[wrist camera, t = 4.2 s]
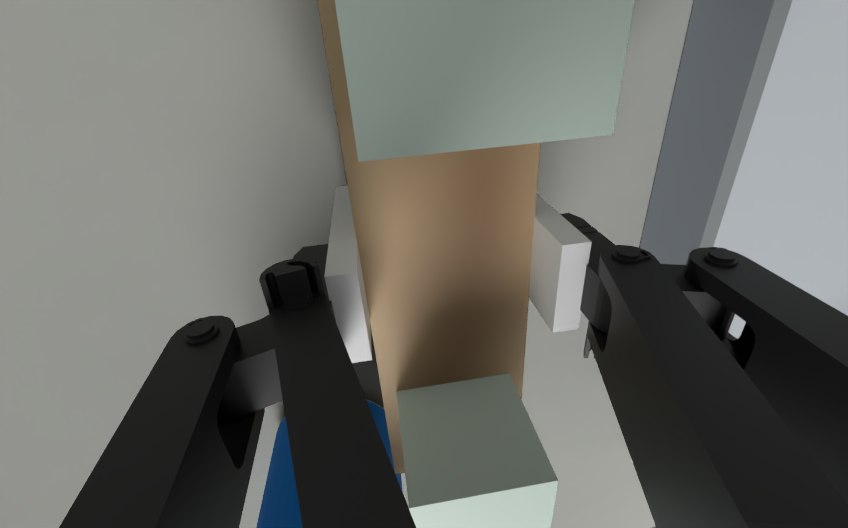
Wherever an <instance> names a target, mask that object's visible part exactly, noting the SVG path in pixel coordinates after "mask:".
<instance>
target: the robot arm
mask: <svg viewBox="0 0 848 528" xmlns="http://www.w3.org/2000/svg"><path fill="white" fill-rule="evenodd" d="M260 284H261V287H262V290H263V293H264V296H265V300H266V303H267V306H268V309H269V315H268V316H266V317H264V318H262V319H260V320H257V321H255V322H252V323H249V324H246V325H243V326H240V327H237V328H236V327H235V325H234V322H233V321H232V320H231V319H230V318H228V317H224V316H209V317H205V318H200V319H197V320H195V321H192V322H190V323H188V324H186V325H185V326H184V327H182V328H181V329H179V330H178V331H176V333H175V334H174V335H173V336H172V337H171V338H170V340H169V342H168V343H167V345H166V347H165V348H164V350H163V352H162V354H161V355H160V357H159V359H158V360H157V362H156V364H155V365H154V367H153V369H152V371H151V372H150V374H149V376H148V377H147V379H146V381H145V382H144V384H143V386H142V388H141V389H140V391H139V393H138V394H137V396H136V398H135V399H134V401H133V403H132V405H131V406H130V408H129V410H128V411H127V413H126V415H125V416H124V418H123V420H122V422H121V423H120V425H119V427H118V428H117V430H116V432H115V433H114V435H113V437H112V439H111V440H110V442H109V444H108V445H107V447H106V449H105V450H104V452H103V454H102V456H101V457H100V459H99V461H98V462H97V464H96V466H95V467H94V469H93V471H92V473H91V474H90V476H89V478H88V479H87V481H86V483H85V485H84V486H83V488H82V490H81V491H80V493H79V495H78V496H77V498H76V500H75V502H74V503H73V505H72V507H71V508H70V510H69V512H68V513H67V515H66V517H65V519H64V520H63V522H62V524H61V525H60V527H59V528H239V524H240V520H241V515H242V511H243V506H244V502H245V497H246V493H247V488H248V484H249V479H250V475H251V470H252V466H253V461H254V457H255V452H256V448H257V443H258V439H259V434H260V430H261V425H262V421H263V416H264V412H265V411H264V408H265V407H267V406H270V405H272V404H275V403H277V402H279V401H282V400H283V405H284V411H285V418H286V424H287V430H288V437H289V443H290V450H291V456H292V463H293V469H294V475H295V482H296V488H297V495H298V501H299V508H300V514H301V521H302V527H303V528H416V526H415V523H414V521H413V518H412V516H411V513H410V510H409V508H408V505H407V503H406V500H405V498H404V495H403V493H402V490H401V487H400V485H399V482H398V480H397V477H396V475H395V472H394V470H393V467H392V464H391V462H390V459H389V457H388V454H387V452H386V449H385V447H384V444H383V441H382V439H381V436H380V434H379V431H378V429H377V426H376V424H375V421H374V418H373V416H372V413H371V411H370V408H369V406H368V403H367V400H366V398H365V395H364V393H363V390H362V388H361V385H360V383H359V380H358V377H357V375H356V372H355V370H354V367H353V365H352V363H356V362H363V361H369V360H372V348H371V329H370V316H369V310H368V304H367V298H366V292H365V286H364V280H363V274H362V268H361V262H360V256H359V250H358V244H357V239H356V233H355V227H354V221H353V215H352V209H351V203H350V197H349V191H348V185H346V186H337V187H336V189H335V196H334V204H333V212H332V220H331V228H330V236H329V244H325V245H317V246H309V247H303V248H302V249H301V250H300V251H299V252H298V253H297V254H296V255H294V258H293V259H291V260H285V261H282V262H279V263H276V264H274V265H272V266H271V267H269V268H267V269H266V270H265V271H264V272H263V273H262V274H261V276H260ZM529 298H530V299H531V301H532V302H533V304H534V305H535V307H536V308H537V310H538V311H539V313H540V314H541V316H542V317H543V319H544V320H545V322H546V323H547V325H548V326H549V328H550V330H551V331H552V333H554V332H560V331H567V330H573V329H579V322H580V316H581V311H582V312H583V314H584V315H585V316H586V317H587V319H588V320H589V323H588V329H587V335H586V341H585V347H584V358H588V355H589V351H590V350H591V349H592V351H593V353H594V358H595V359H596V362H597V364H598V367H599V370H600V373H601V375H602V378H603V381H604V384H605V386H606V389H607V392H608V395H609V398H610V400H611V403H612V406H613V409H614V411H615V414H616V417H617V420H618V422H619V425H620V428H621V431H622V434H623V436H624V439H625V442H626V445H627V447H628V450H629V453H630V456H631V458H632V461H633V464H634V467H635V469H636V472H637V475H638V478H639V481H640V483H641V486H642V489H643V492H644V494H645V497H646V500H647V503H648V505H649V508H650V511H651V514H652V516H653V519H654V522H655V525H656V528H848V316H847V315H845V314H844V313H842V312H840V311H839V310H837V309H835V308H833V307H832V306H830V305H828V304H826V303H825V302H823V301H821V300H820V299H818V298H816V297H814V296H813V295H811V294H809V293H807V292H806V291H804V290H802V289H801V288H799V287H797V286H795V285H794V284H792V283H790V282H788V281H787V280H785V279H783V278H781V277H780V276H778V275H776V274H775V273H773V272H771V271H769V270H768V269H766V268H764V267H762V266H761V265H759V264H757V263H756V262H754V261H752V260H750V259H749V258H747V257H745V256H743V255H741V254H738V253H736V252H733V251H729V250H727V249H725V248H720V247H719V248H717V247H706V248H698V249H694V250H692V251H691V252H690V253H689V256H688V260H687V263H686V265H676V264H660V262H659V261H658V260H657V259H656V257H655V256H654V255H652V254H651V253H650V252H648V251H646V250H643V249H641V248H637V247H633V246H625V245H615V244H613V243H612V242H611V241H610V240H608V239H607V238H606V237H605V236H603V235H602V234H601V233H600V232H598V231H597V230H596V229H595V228H593V227H591V225H590V224H588V223H587V222H586V221H585V220H583V219H582V218H580V217H577V216H575V215H572V214H570V213H566V214H559V213H558V212H557V211H556V210H555V209H554V208H553V207H551V206H550V205H549V204H548V203H547V202H546V201H544V200H543V199H542V198H541V197H540V196H539V195H538V194H537V195H536V208H535V217H534V230H533V244H532V258H531V271H530V285H529ZM735 314H736V315H737V316H739V317H740V318H741V319H743V320H744V321H745V322H746V323H745V326H744V328H743V331H742V333H741V336H740V337H739V338H738V339H737V338H736V337H734V336H732V335H731V334H730V333H729V329H730V326H731V324H732V321H733V319H734V316H735Z"/></svg>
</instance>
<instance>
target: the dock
mask: <svg viewBox="0 0 848 528" xmlns="http://www.w3.org/2000/svg"><path fill="white" fill-rule="evenodd" d="M706 247H717V248H719V247H720V248H725V249H727V250H729V251H733V252H736V253H738V254H741V255H743V256H745V257H747V258H749V259H750V260H752V261H754V262H756V263H757V264H759V265H761V266H762V267H764V268H766V269H768V270H769V271H771V272H773V273H775V274H776V275H778V276H780V277H781V278H783V279H785V280H787V281H788V282H790V283H792V284H794V285H795V286H797V287H799V288H801V289H802V290H804V291H806V292H807V293H809V294H811V295H813V296H814V297H816V298H818V299H820V300H821V301H823V302H825V303H826V304H828V305H830V306H832V307H833V308H835V309H837V310H839V311H840V312H842V313H844V314H845V315H847V316H848V0H694V4H693V8H692V13H691V17H690V22H689V26H688V31H687V35H686V40H685V44H684V49H683V53H682V58H681V62H680V67H679V71H678V76H677V81H676V85H675V90H674V94H673V99H672V103H671V108H670V112H669V117H668V121H667V126H666V130H665V135H664V139H663V144H662V148H661V153H660V157H659V162H658V166H657V171H656V175H655V180H654V184H653V189H652V193H651V198H650V203H649V207H648V212H647V216H646V221H645V225H644V230H643V234H642V239H641V243H640V248H641V249H643V250H646V251H648V252H650V253H651V254H652V255H654V256H655V257H656V259H657V260H658V261H659V262H660V264H676V265H686V263H687V260H688V256H689V253H690V252H691V251H692V250H694V249H698V248H706ZM745 323H746V322H745V321H744V320H743V319H741V318H740V317H739V316H737V315H736V314H735V316H734V319H733V321H732V324H731V326H730V329H729V333H730V334H731V335H732V336H734V337H736V338H737V339H738V338H739V337H740V336H741V333H742V331H743V328H744V326H745Z"/></svg>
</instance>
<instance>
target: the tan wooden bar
mask: <svg viewBox="0 0 848 528" xmlns="http://www.w3.org/2000/svg"><path fill="white" fill-rule="evenodd" d="M317 3H318V9H319V15H320V21H321V27H322V33H323V39H324V45H325V51H326V57H327V63H328V70H329V76H330V82H331V88H332V94H333V100H334V106H335V112H336V118H337V124H338V130H339V136H340V142H341V148H342V155H343V161H344V167H345V173H346V179H347V185H348V191H349V197H350V203H351V209H352V215H353V221H354V227H355V233H356V239H357V244H358V250H359V256H360V262H361V268H362V274H363V280H364V286H365V292H366V298H367V304H368V310H369V316H370V325H371V331H372V337H373V343H374V349H375V355H376V361H377V367H378V373H379V379H380V385H381V391H382V397H383V403H384V409H385V416H386V422H387V428H388V434H389V440H390V446H391V452H392V458H393V464H394V470H395V474H401V473H405V466H404V457H403V449H402V440H401V431H400V422H399V413H398V405H397V396H396V391H402V390H408V389H414V388H421V387H427V386H433V385H439V384H446V383H452V382H458V381H464V380H471V379H477V378H483V377H490V376H496V375H502V374H508V373H509V374H510V376H511V378H512V380H513V383H514V385H515V387H516V389H517V391H518V394H519V396H520V398H522V384H523V371H524V357H525V344H526V330H527V317H528V303H529V285H530V271H531V258H532V244H533V230H534V217H535V208H536V195H537V181H538V168H539V154H540V143H532V144H522V145H513V146H503V147H494V148H484V149H475V150H465V151H456V152H446V153H437V154H427V155H418V156H408V157H399V158H389V159H380V160H370V161H361V162H358V155H357V148H356V141H355V135H354V128H353V121H352V114H351V107H350V101H349V94H348V87H347V80H346V73H345V67H344V60H343V53H342V46H341V39H340V32H339V26H338V19H337V12H336V5H335V0H317Z"/></svg>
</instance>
